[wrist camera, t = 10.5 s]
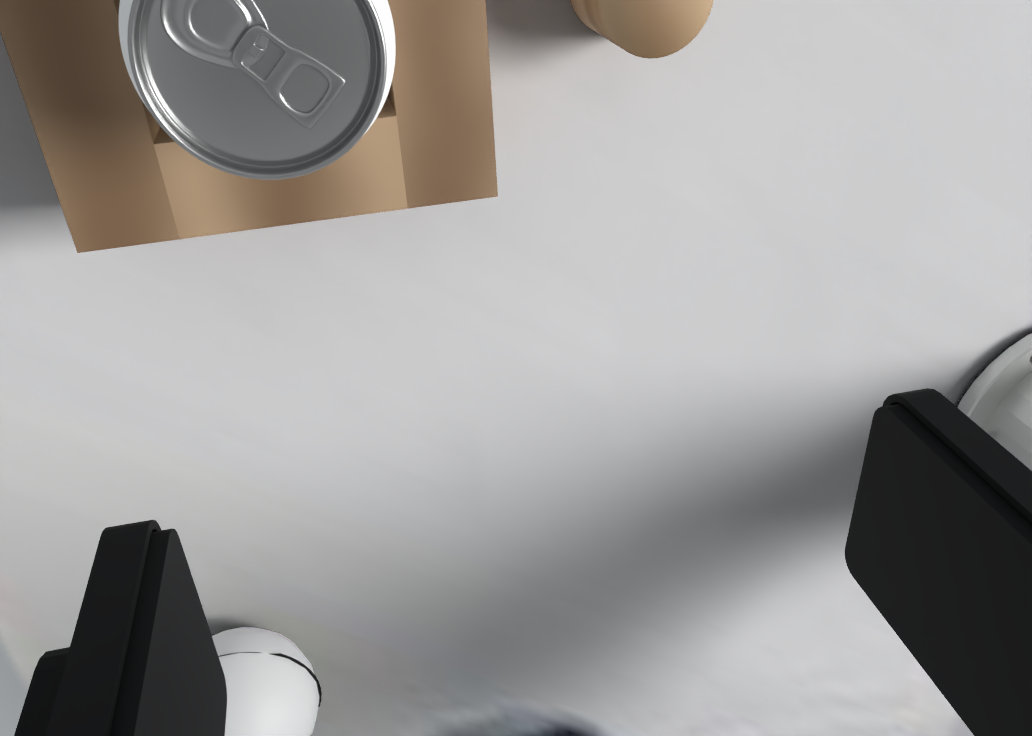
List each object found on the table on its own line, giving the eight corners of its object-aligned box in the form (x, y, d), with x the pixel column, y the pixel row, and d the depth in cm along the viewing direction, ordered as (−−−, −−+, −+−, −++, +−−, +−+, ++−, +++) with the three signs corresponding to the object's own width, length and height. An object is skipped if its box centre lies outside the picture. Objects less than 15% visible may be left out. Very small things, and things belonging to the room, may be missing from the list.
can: (234, -176, 27) (213, -180, 17) (399, -29, 30) (461, 39, 20) (124, -4, 29) (46, 83, 19) (291, 117, 32) (300, 246, 22)
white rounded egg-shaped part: (331, 672, 48) (340, 796, 41) (192, 708, 46) (181, 840, 40) (287, 540, 42) (290, 661, 36) (129, 578, 41) (104, 708, 35)
